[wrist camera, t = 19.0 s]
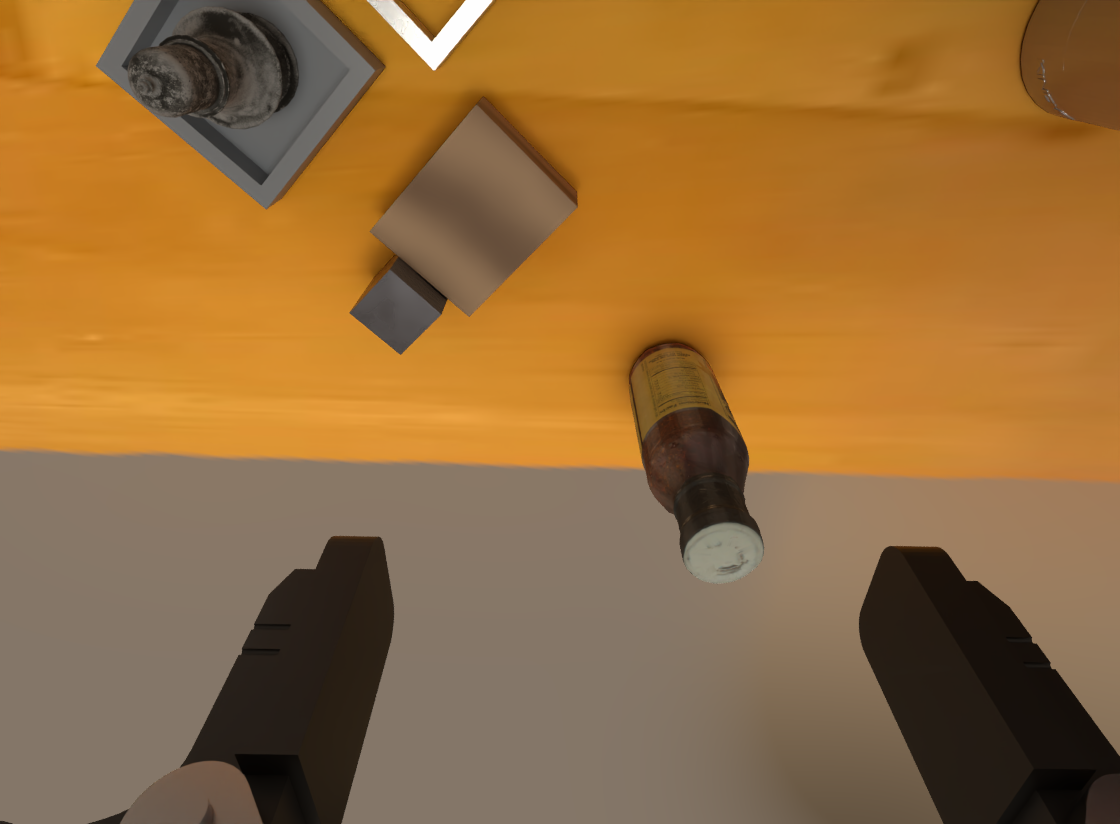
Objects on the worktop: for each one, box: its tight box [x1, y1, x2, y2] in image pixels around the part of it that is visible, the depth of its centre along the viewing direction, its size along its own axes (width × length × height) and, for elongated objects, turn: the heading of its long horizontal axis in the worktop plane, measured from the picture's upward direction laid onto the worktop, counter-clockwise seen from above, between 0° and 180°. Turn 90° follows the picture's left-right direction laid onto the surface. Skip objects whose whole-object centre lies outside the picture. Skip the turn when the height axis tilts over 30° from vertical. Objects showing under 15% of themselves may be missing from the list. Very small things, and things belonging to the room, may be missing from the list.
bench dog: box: [350, 254, 448, 355], centre depth 43 cm, size 4×4×6 cm
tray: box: [96, 0, 385, 209], centre depth 38 cm, size 11×11×2 cm
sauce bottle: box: [629, 343, 764, 583], centre depth 41 cm, size 6×6×20 cm
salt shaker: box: [128, 7, 299, 129], centre depth 33 cm, size 6×6×12 cm
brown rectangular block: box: [370, 96, 578, 317], centre depth 42 cm, size 10×8×4 cm
